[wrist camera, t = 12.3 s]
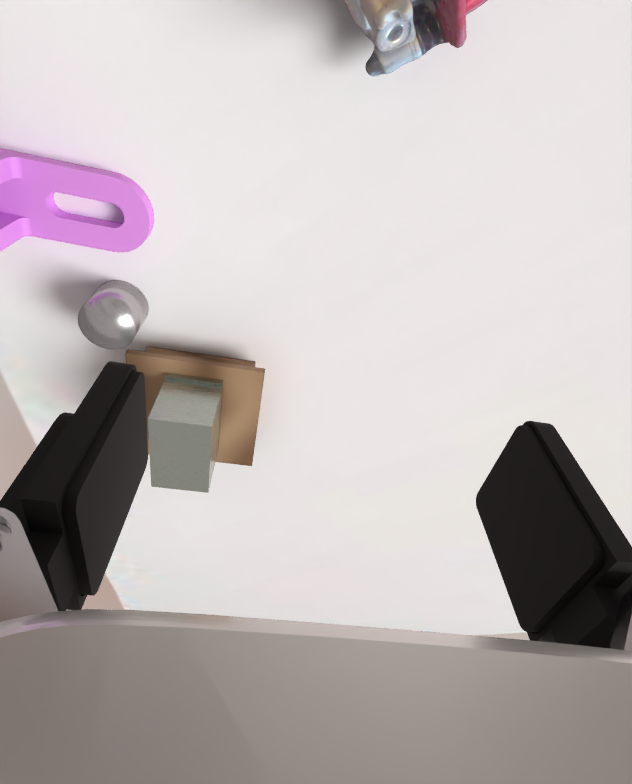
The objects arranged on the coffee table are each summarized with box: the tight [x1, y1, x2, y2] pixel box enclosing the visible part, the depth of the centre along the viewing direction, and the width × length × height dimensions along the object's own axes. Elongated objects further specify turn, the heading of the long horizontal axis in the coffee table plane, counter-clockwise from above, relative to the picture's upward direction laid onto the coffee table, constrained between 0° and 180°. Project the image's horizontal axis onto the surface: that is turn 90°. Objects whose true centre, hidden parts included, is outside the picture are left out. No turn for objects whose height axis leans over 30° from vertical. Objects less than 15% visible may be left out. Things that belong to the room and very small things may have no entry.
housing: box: [148, 373, 224, 492], centre depth 41 cm, size 9×5×6 cm, turn 170°
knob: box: [78, 280, 149, 349], centre depth 38 cm, size 4×4×4 cm
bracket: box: [0, 148, 154, 252], centre depth 32 cm, size 13×6×7 cm, turn 78°
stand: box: [126, 347, 265, 466], centre depth 45 cm, size 12×12×3 cm
